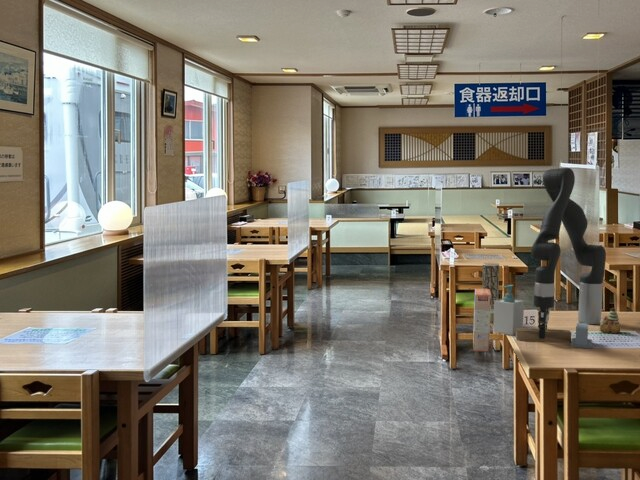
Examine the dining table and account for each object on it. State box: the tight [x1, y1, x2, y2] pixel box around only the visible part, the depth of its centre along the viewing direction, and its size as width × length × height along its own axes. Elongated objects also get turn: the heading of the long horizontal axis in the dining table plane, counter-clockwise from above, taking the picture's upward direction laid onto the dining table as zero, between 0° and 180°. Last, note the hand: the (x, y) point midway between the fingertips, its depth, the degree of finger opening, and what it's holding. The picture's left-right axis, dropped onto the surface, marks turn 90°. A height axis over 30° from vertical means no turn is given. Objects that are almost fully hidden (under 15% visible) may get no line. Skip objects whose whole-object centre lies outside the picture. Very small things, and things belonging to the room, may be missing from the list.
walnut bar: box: [514, 327, 572, 343], centre depth 273 cm, size 4×20×4 cm, turn 81°
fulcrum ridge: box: [570, 322, 593, 349], centre depth 266 cm, size 10×7×7 cm
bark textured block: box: [481, 262, 500, 323], centre depth 305 cm, size 7×7×25 cm
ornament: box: [599, 307, 621, 334], centre depth 286 cm, size 8×6×10 cm
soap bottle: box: [493, 284, 525, 336], centre depth 285 cm, size 9×9×19 cm
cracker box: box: [472, 288, 491, 353], centre depth 260 cm, size 14×6×21 cm, turn 168°
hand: (542, 335), depth 273 cm, fingers open, 8 cm apart
